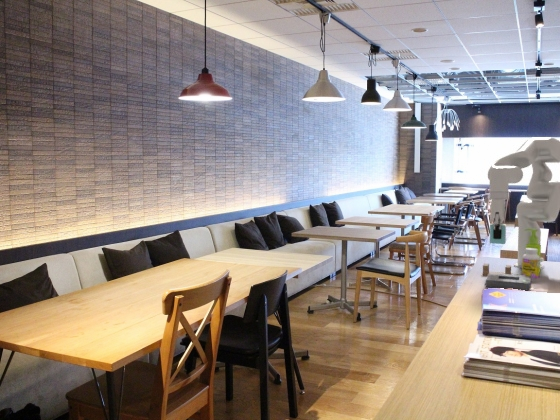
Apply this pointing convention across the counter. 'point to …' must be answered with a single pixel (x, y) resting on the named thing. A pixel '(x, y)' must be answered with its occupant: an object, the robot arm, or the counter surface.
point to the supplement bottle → (531, 263)
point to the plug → (503, 235)
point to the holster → (486, 272)
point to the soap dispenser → (534, 242)
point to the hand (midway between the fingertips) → (497, 237)
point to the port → (508, 281)
